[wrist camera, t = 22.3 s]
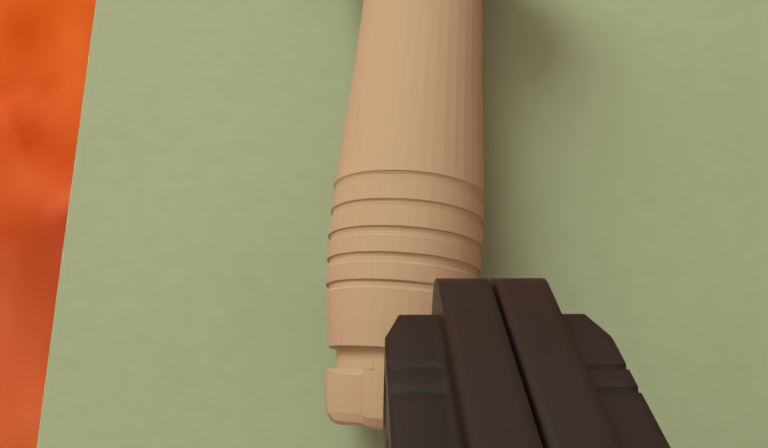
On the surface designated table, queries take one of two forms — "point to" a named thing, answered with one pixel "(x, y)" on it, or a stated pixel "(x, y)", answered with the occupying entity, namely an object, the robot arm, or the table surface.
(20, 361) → the table surface
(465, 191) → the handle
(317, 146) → the mat
